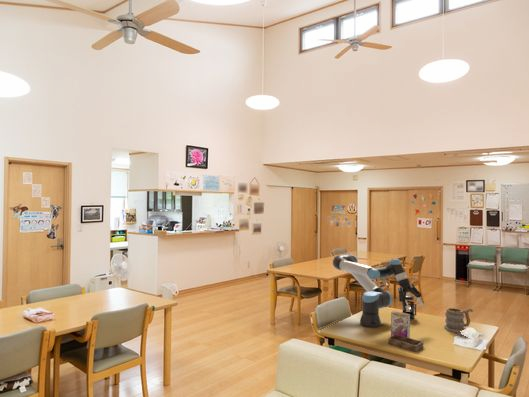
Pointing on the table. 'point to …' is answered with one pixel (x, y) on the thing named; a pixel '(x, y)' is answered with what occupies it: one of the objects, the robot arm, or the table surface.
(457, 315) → the tankard
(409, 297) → the french press
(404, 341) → the holder tray
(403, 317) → the candy bar box
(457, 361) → the table surface
